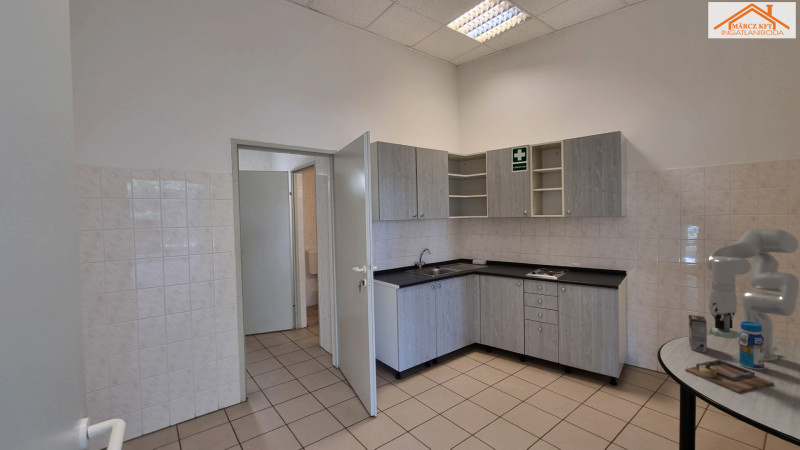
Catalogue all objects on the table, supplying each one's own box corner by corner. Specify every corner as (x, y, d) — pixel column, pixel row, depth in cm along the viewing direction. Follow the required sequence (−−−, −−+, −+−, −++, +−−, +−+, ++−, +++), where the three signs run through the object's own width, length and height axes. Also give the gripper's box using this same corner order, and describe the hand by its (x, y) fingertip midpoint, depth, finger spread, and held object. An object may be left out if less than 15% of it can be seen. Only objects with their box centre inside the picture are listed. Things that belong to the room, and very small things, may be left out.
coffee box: (688, 344, 183) (688, 314, 182) (704, 346, 179) (704, 316, 179) (690, 350, 176) (690, 319, 175) (707, 352, 172) (706, 321, 171)
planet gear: (719, 330, 156) (719, 310, 156) (744, 337, 147) (744, 316, 147) (703, 332, 154) (703, 313, 154) (728, 340, 145) (728, 319, 144)
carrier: (718, 364, 160) (718, 351, 159) (773, 384, 140) (773, 370, 140) (685, 370, 155) (685, 358, 155) (738, 393, 136) (738, 378, 135)
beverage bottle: (736, 360, 162) (736, 319, 161) (761, 364, 157) (761, 322, 157) (740, 367, 155) (740, 324, 155) (767, 372, 150) (767, 327, 150)
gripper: (727, 283, 155) (727, 323, 156) (699, 287, 151) (700, 327, 152) (747, 287, 148) (747, 328, 149) (719, 290, 144) (719, 333, 145)
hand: (723, 327), depth 150 cm, fingers closed on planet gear, 4 cm apart
